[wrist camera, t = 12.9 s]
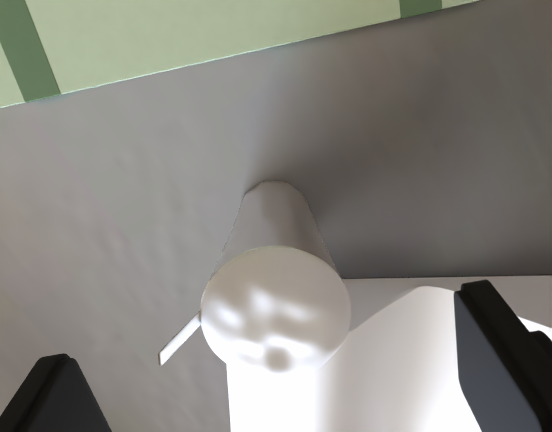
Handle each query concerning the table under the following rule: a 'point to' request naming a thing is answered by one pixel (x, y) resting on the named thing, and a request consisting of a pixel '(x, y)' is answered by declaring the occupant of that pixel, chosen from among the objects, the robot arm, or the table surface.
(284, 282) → the milkshake
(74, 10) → the towel
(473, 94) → the table surface
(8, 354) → the table surface
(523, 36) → the table surface
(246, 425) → the white wavy rack
